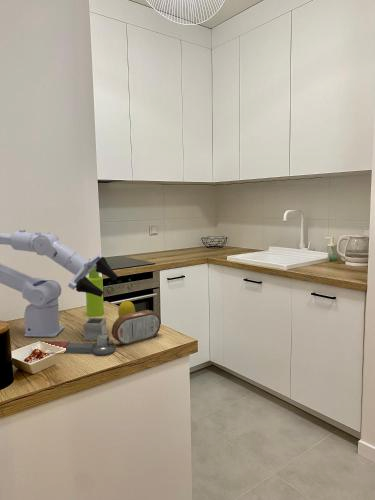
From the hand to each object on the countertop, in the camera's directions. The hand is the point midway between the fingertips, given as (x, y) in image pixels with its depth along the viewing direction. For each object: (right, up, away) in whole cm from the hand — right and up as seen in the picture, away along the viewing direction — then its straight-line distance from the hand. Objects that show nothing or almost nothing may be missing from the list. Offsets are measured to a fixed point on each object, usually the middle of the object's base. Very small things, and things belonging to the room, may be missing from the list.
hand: (109, 286), depth 109 cm
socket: (-4, -15, +1) cm, 16 cm away
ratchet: (-7, -17, -9) cm, 20 cm away
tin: (+9, -16, -1) cm, 18 cm away
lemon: (+3, -14, +13) cm, 19 cm away
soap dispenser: (-9, -12, +22) cm, 27 cm away
